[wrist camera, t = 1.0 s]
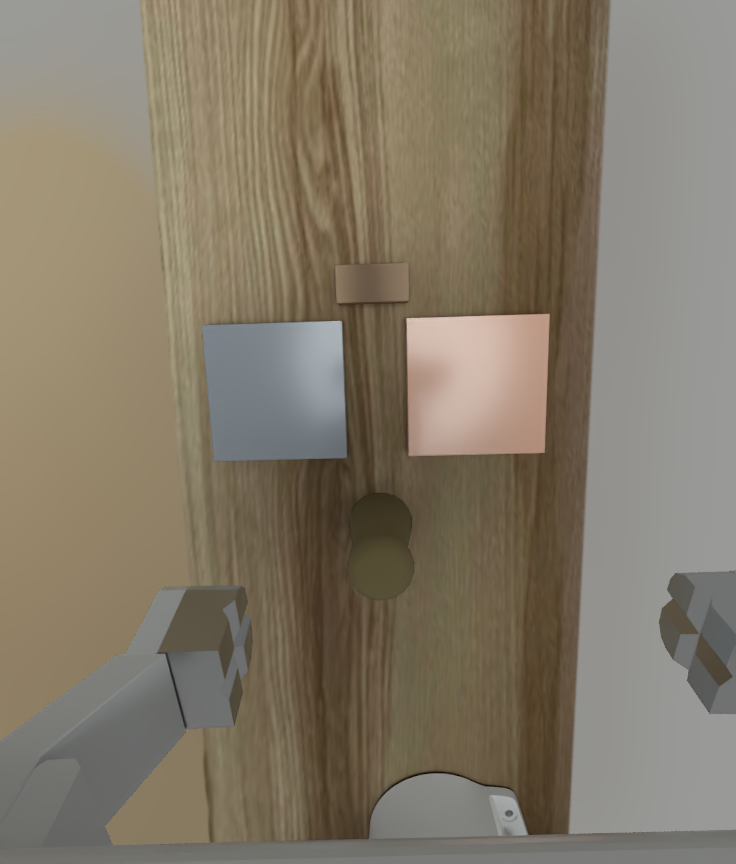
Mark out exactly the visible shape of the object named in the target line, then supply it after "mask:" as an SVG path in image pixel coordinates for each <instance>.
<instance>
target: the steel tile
mask: <svg viewBox="0 0 736 864" xmlns="http://www.w3.org/2000/svg"><path fill="white" fill-rule="evenodd" d="M202 333H203V344H204V355H205V366H206V377H207V388H208V399H209V410H210V421H211V432H212V444H213V455H214V461H243V460H284V459H325V458H347V456H348V433H347V407H346V381H345V355H344V329H343V321H322V322H291V323H259V324H227V325H202Z"/></svg>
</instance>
